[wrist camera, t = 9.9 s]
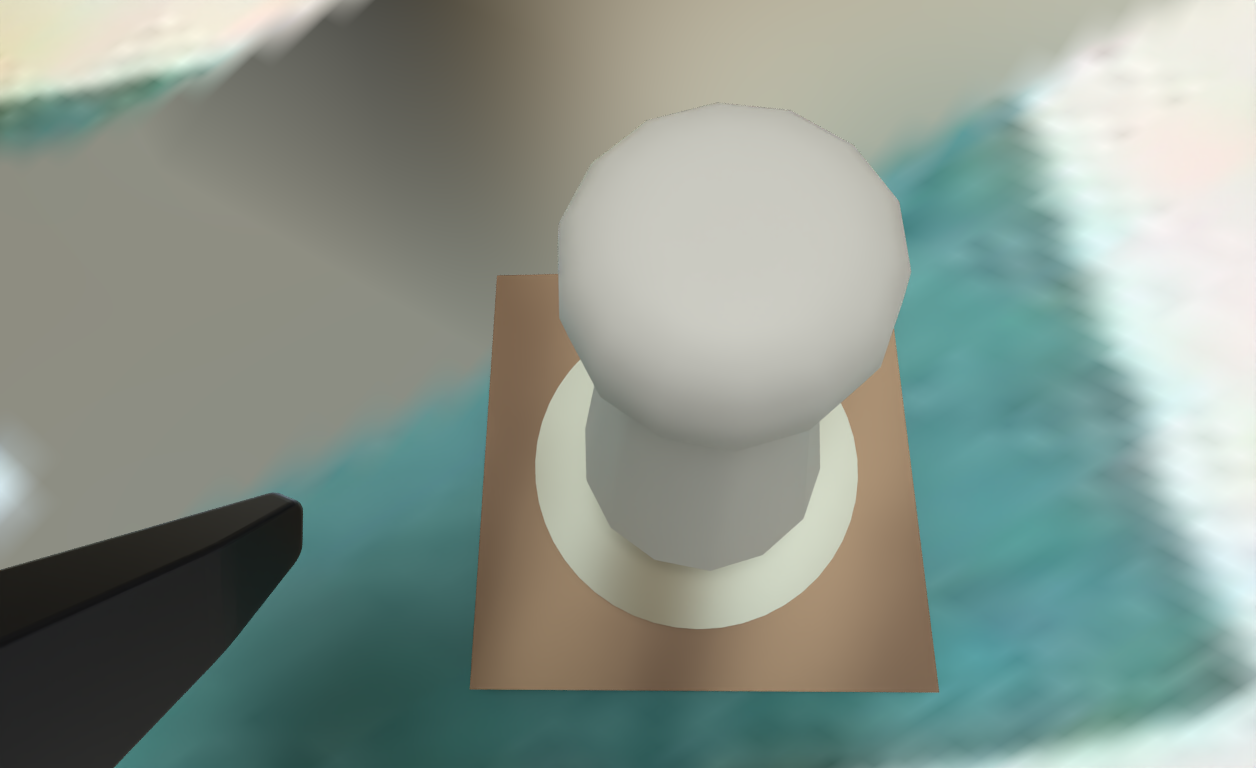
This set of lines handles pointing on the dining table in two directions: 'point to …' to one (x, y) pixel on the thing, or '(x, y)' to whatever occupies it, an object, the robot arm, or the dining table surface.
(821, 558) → the brown coaster
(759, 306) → the salt shaker
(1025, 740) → the dining table surface
